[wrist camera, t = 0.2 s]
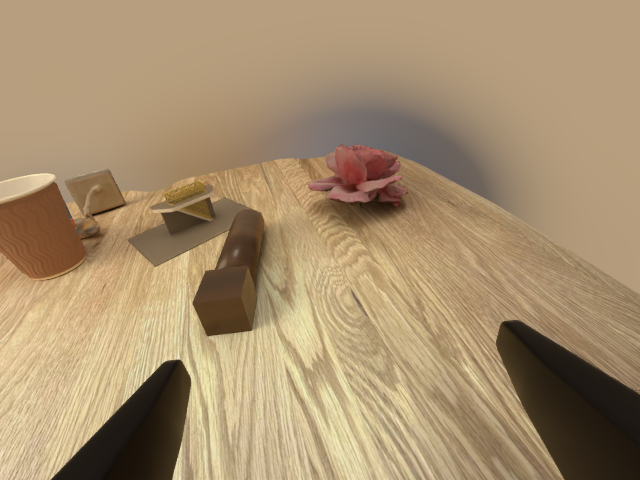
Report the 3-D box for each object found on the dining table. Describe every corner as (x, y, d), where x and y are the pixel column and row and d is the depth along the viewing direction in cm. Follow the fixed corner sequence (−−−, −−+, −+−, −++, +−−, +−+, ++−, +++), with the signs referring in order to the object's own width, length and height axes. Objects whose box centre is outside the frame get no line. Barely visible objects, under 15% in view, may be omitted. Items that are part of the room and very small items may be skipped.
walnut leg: (251, 330, 30) (240, 296, 28) (207, 336, 30) (192, 303, 28) (268, 227, 47) (262, 201, 45) (239, 231, 47) (232, 205, 45)
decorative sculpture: (103, 239, 50) (80, 198, 46) (37, 253, 49) (7, 212, 45) (129, 201, 64) (113, 166, 60) (78, 210, 62) (57, 176, 58)
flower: (354, 222, 40) (361, 141, 37) (296, 203, 51) (297, 140, 48) (428, 214, 48) (437, 147, 45) (363, 199, 59) (368, 145, 57)
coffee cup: (115, 245, 48) (73, 171, 42) (57, 290, 40) (-5, 205, 33) (60, 245, 50) (13, 175, 44) (-5, 288, 42) (-75, 208, 35)
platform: (262, 213, 52) (253, 175, 48) (154, 266, 42) (134, 224, 38) (225, 197, 60) (215, 164, 56) (126, 239, 49) (107, 202, 46)
